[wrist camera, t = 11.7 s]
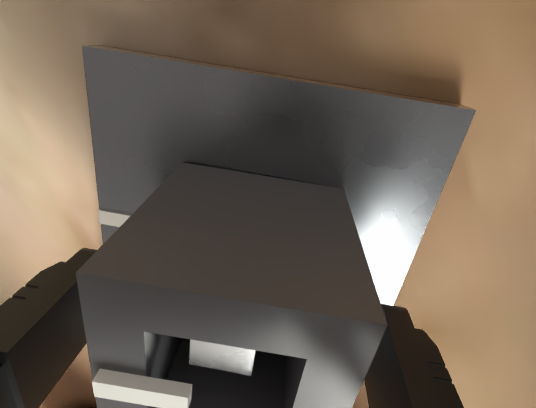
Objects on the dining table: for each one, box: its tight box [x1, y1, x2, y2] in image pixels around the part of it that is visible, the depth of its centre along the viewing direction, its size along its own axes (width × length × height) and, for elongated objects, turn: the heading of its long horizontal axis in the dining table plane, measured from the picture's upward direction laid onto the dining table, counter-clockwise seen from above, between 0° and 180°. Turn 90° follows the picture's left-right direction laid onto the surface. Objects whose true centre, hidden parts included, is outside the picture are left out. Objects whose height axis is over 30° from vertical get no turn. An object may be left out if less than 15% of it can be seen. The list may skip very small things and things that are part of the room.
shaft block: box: [82, 46, 476, 376], centre depth 11 cm, size 12×12×6 cm
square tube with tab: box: [76, 162, 387, 408], centre depth 10 cm, size 6×6×6 cm
